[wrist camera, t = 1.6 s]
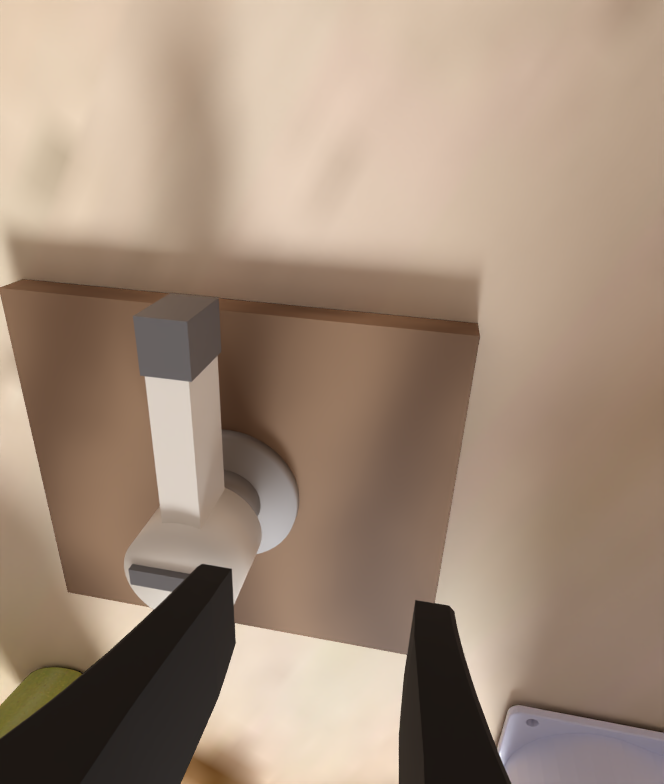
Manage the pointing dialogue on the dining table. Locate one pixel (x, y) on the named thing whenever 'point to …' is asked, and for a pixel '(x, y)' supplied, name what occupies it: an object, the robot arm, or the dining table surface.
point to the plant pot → (34, 695)
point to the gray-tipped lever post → (187, 454)
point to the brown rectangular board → (260, 449)
